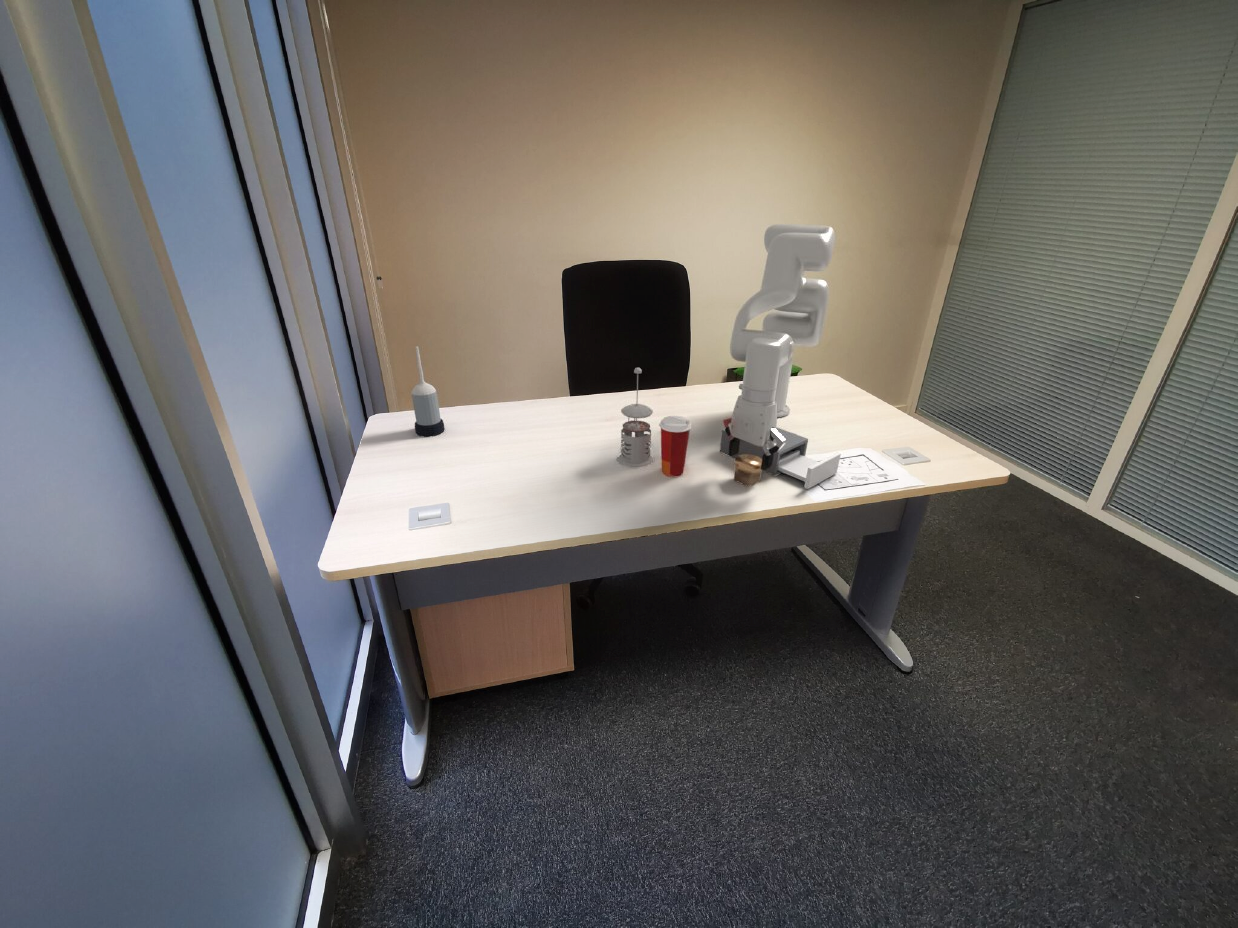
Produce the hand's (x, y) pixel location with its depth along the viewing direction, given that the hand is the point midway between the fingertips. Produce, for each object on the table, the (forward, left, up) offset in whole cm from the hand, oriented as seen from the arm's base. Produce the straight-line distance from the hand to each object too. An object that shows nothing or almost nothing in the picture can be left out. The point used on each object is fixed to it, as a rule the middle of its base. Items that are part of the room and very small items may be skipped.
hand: (749, 461), depth 130 cm
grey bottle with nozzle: (-78, -48, -6) cm, 92 cm away
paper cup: (-15, -11, -6) cm, 19 cm away
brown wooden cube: (0, 0, -6) cm, 6 cm away
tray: (+3, +14, -5) cm, 16 cm away
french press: (-27, -13, -6) cm, 31 cm away
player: (-6, +14, -6) cm, 17 cm away
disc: (0, 0, -2) cm, 2 cm away
